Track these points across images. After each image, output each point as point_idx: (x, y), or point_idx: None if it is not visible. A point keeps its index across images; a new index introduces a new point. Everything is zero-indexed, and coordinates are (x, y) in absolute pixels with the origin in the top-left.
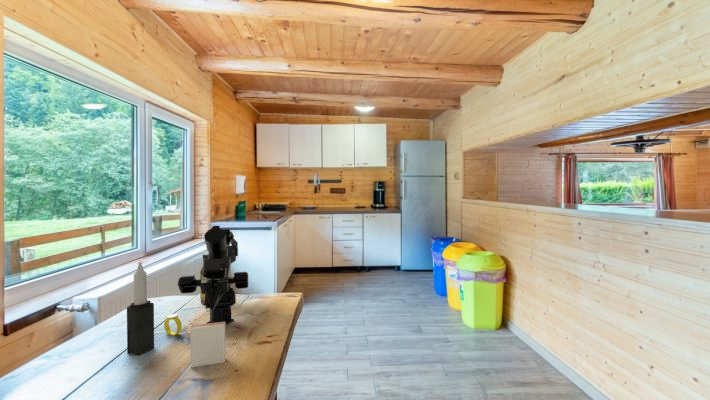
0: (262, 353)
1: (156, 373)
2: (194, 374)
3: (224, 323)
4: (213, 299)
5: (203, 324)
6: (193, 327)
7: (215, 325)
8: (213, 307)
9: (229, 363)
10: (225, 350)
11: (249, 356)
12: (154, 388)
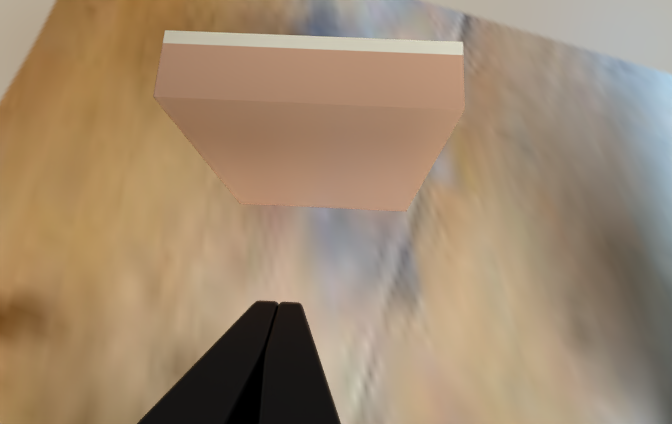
0: (48, 184)
1: (558, 172)
2: None
3: (164, 51)
4: (231, 402)
5: (357, 95)
6: (439, 57)
7: (245, 35)
8: (256, 306)
9: None
10: (229, 188)
11: (118, 177)
12: (521, 58)
